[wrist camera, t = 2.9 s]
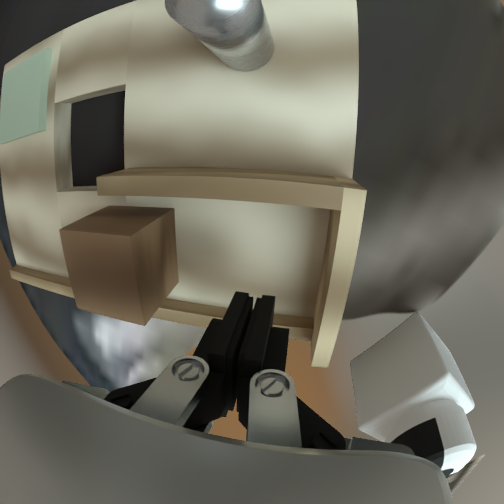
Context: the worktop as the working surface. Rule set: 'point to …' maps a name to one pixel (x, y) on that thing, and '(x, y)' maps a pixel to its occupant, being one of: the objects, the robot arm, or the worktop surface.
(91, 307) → the walnut cube
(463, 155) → the worktop surface
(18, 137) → the pad
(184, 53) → the board
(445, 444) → the medicine bottle
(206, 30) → the grey metal peg
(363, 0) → the worktop surface
